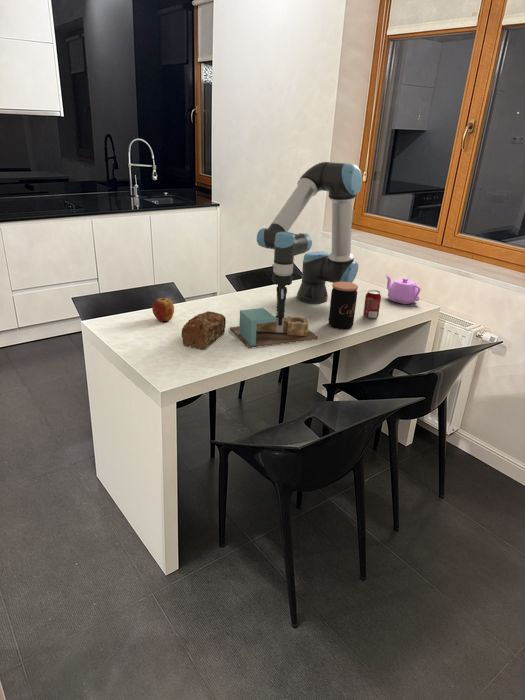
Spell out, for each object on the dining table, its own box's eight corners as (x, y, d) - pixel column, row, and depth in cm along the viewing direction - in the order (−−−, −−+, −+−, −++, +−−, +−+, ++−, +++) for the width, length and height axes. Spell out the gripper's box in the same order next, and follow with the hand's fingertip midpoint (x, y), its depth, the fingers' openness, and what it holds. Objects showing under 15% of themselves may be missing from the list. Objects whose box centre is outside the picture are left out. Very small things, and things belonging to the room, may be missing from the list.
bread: (205, 351, 183) (205, 326, 179) (180, 345, 186) (179, 321, 182) (226, 334, 199) (227, 310, 195) (203, 329, 202) (202, 306, 198)
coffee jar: (337, 331, 206) (342, 290, 198) (323, 323, 214) (327, 282, 207) (358, 328, 211) (363, 287, 203) (343, 319, 219) (347, 280, 212)
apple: (148, 320, 208) (147, 297, 204) (165, 315, 215) (165, 293, 210) (161, 326, 203) (160, 302, 199) (179, 321, 209) (178, 298, 205)
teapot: (424, 302, 247) (428, 279, 242) (411, 308, 238) (416, 284, 233) (388, 293, 259) (391, 271, 254) (375, 298, 250) (378, 275, 245)
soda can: (378, 320, 220) (381, 294, 215) (362, 318, 221) (366, 293, 217) (377, 315, 226) (381, 290, 221) (362, 313, 228) (366, 288, 223)
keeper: (239, 336, 196) (239, 310, 192) (262, 333, 200) (263, 307, 196) (250, 348, 186) (251, 320, 182) (274, 344, 190) (276, 318, 186)
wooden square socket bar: (251, 332, 196) (252, 320, 194) (252, 325, 203) (252, 313, 201) (307, 336, 196) (308, 324, 194) (305, 328, 204) (306, 317, 202)
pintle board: (229, 329, 203) (230, 316, 200) (294, 321, 214) (295, 309, 212) (248, 348, 186) (248, 335, 184) (317, 338, 198) (318, 326, 195)
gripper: (272, 267, 198) (269, 321, 207) (273, 279, 182) (270, 337, 192) (291, 268, 198) (287, 322, 207) (293, 280, 182) (289, 338, 192)
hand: (279, 329), depth 199 cm, fingers closed on wooden square socket bar, 4 cm apart
